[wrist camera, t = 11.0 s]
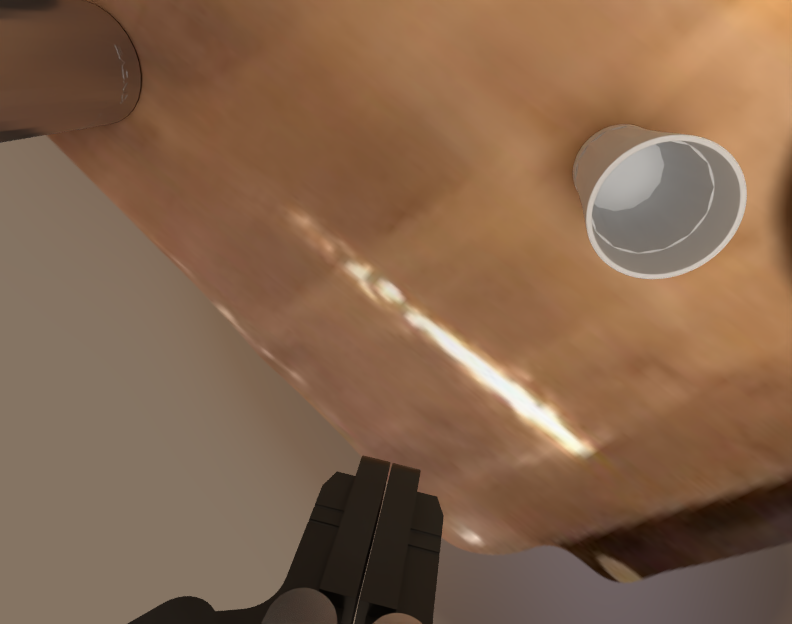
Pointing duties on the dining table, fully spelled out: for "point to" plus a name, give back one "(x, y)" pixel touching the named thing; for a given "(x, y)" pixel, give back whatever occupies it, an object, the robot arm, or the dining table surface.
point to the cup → (657, 199)
